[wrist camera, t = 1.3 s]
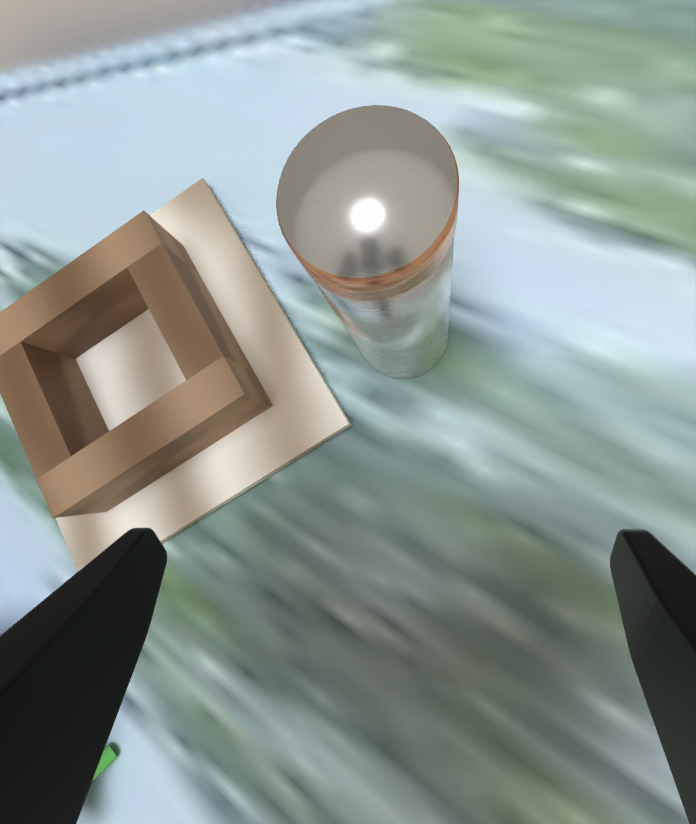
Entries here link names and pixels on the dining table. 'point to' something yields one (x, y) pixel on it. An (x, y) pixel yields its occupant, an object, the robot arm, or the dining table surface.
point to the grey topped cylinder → (377, 230)
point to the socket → (158, 378)
